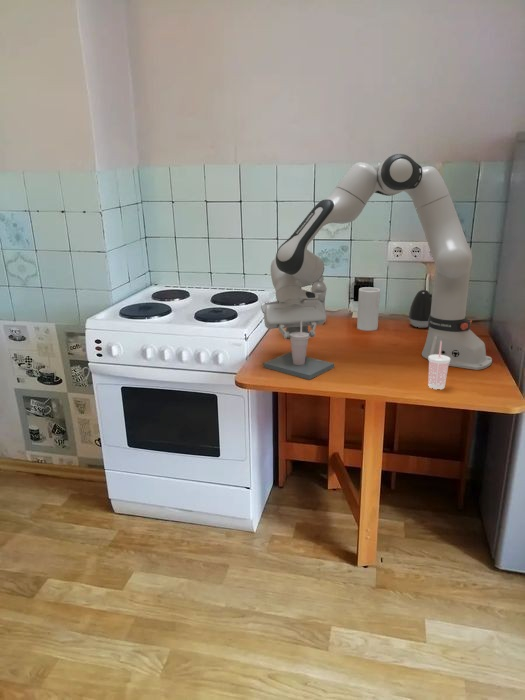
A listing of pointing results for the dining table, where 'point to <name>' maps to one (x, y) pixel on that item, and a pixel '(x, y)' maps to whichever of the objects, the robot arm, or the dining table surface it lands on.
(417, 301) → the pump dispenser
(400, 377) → the dining table surface
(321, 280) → the plastic bottle
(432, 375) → the beverage cup
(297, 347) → the smoothie
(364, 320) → the cup
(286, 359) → the slate board
